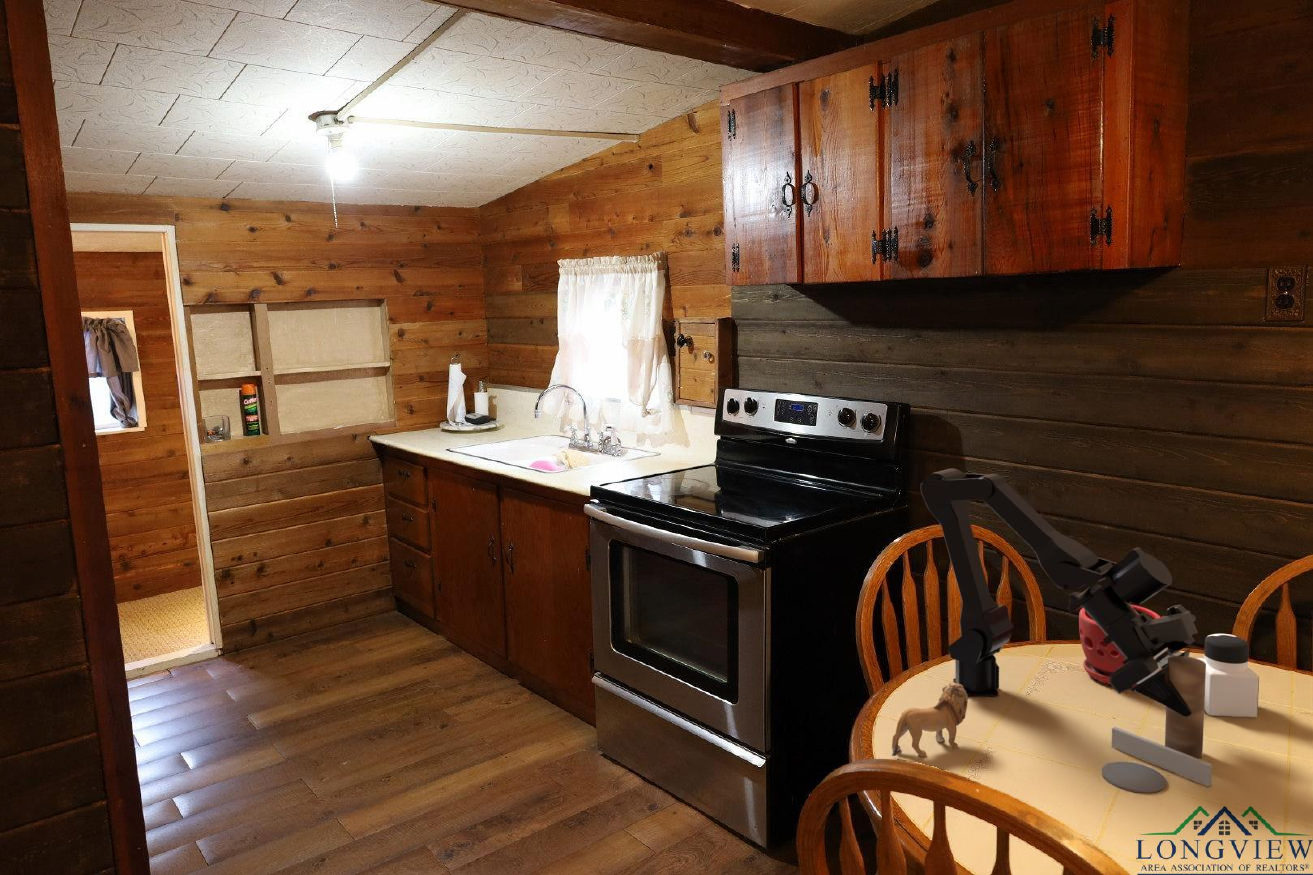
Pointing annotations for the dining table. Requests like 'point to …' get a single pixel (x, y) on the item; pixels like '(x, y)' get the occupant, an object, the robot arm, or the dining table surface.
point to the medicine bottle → (1229, 678)
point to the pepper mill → (1191, 686)
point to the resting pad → (1133, 777)
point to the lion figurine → (934, 718)
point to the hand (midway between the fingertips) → (1195, 709)
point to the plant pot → (1101, 647)
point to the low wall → (1162, 756)
